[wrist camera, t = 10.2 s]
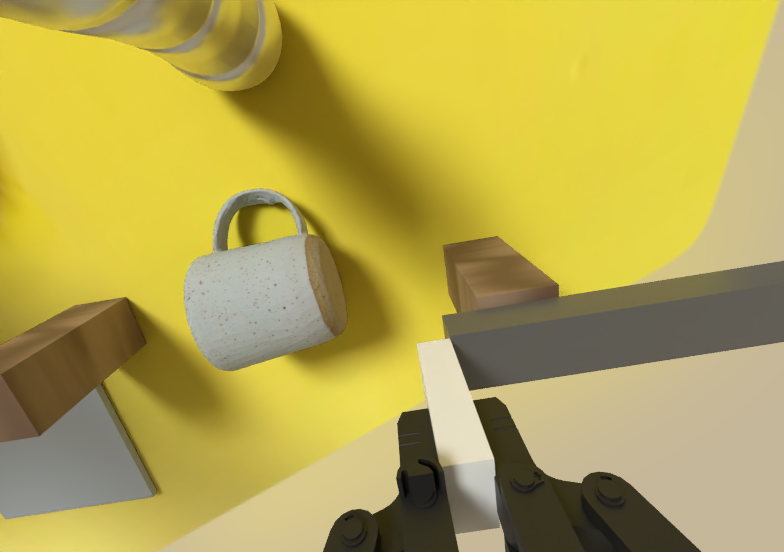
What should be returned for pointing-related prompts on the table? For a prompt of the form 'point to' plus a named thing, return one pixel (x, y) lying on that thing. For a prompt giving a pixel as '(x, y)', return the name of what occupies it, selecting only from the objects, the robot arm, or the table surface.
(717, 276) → the dark grey bar
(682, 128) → the table surface
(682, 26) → the table surface
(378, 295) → the table surface
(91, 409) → the mat
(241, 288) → the ceramic mug
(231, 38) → the plastic bottle
